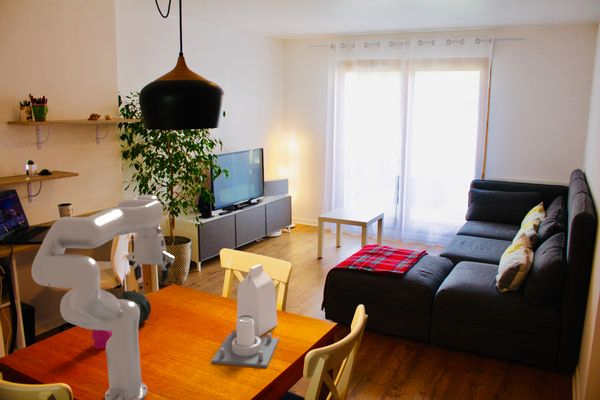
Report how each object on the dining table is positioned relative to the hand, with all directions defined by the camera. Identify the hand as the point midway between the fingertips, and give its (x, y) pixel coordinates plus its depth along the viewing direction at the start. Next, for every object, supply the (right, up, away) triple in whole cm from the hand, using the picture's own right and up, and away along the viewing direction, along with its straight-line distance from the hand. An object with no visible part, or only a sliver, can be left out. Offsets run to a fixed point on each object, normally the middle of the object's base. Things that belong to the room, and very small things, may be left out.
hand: (151, 279), depth 174 cm
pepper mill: (-23, -28, +17) cm, 40 cm away
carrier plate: (+31, -28, +12) cm, 44 cm away
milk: (+34, -25, +31) cm, 52 cm away
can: (+31, -28, +12) cm, 43 cm away
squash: (-18, -24, +36) cm, 47 cm away
